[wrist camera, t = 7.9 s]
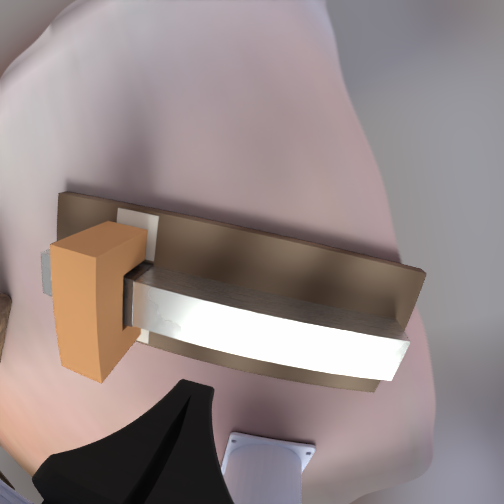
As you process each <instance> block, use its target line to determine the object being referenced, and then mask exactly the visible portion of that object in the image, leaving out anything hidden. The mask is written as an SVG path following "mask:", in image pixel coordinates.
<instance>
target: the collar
mask: <svg viewBox="0 0 504 504" xmlns="http://www.w3.org/2000/svg"><path fill="white" fill-rule="evenodd" d="M147 233H148V230H147V229H142V228H138V227H133V226H129V225H124V224H120V223H115V222H111V221H107V222H104V223H101V224H99V225H96V226H94V227H91V228H88V229H86V230H83V231H81V232H78V233H76V234H73V235H71V236H69V237H66V238H64V239H61V240H59V241H57V242H54V243H52V244H50V259H51V281H52V296H53V307H54V316H55V325H56V333H57V340H58V346H59V353H60V359H61V364H62V366H63V367H66V368H68V369H70V370H72V371H74V372H76V373H78V374H81V375H83V376H85V377H87V378H90V379H92V380H94V381H97V382H99V383H103V381H104V380H105V379H106V377H107V376H108V375H109V374H110V372H111V371H112V370H113V369H114V367H115V366H116V365H117V363H118V362H119V361H120V360H121V358H122V357H123V356H124V355H125V353H126V352H127V351H128V350H129V348H130V347H131V346H132V345H133V343H134V342H135V341H136V340H137V338H138V337H139V336H140V335H141V328H138V327H135V326H133V327H130V326H127V325H124V324H122V307H123V275H125V274H126V273H128V272H129V271H130V270H132V269H133V268H134V267H136V266H137V265H138V264H140V263H141V262H142V261H144V260H145V253H146V243H147Z"/></svg>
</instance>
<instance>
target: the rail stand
mask: <svg viewBox="0 0 504 504" xmlns="http://www.w3.org/2000/svg"><path fill="white" fill-rule="evenodd" d="M107 221H111V222H115V223H120V224H124V225H129V226H133V227H138V228H142V229H147V230H148V233H147V243H146V253H145V260H144V261H142V262H141V263H140V264H138V265H137V266H136V267H134V268H133V269H132V270H130V271H129V272H128V273H126V274H125V275H123V307H122V324H124V325H127V326H130V327H133V326H135V327H138V328H141V335H140V336H139V337H138V338H137V340H136V342H139V343H142V344H146V345H149V346H152V347H155V348H158V349H162V350H165V351H168V352H172V353H175V354H179V355H182V356H186V357H189V358H193V359H196V360H200V361H204V362H208V363H212V364H216V365H220V366H224V367H228V368H232V369H236V370H241V371H245V372H250V373H254V374H259V375H264V376H269V377H274V378H279V379H284V380H290V381H295V382H301V383H307V384H313V385H319V386H326V387H333V388H340V389H348V390H356V391H365V392H375V390H376V388H377V386H378V384H379V382H380V381H381V380H390V381H391V380H392V378H393V376H394V374H395V372H396V370H397V368H398V366H399V364H400V362H401V360H402V358H403V356H404V354H405V352H406V350H407V348H408V346H409V344H410V340H409V339H408V337H407V335H406V334H405V332H404V330H405V328H406V326H407V323H408V321H409V318H410V316H411V314H412V311H413V309H414V306H415V304H416V301H417V298H418V296H419V293H420V290H421V288H422V285H423V282H424V280H425V277H426V273H425V272H424V271H423V270H422V269H420V268H416V267H412V266H408V265H404V264H400V263H396V262H392V261H388V260H384V259H380V258H375V257H371V256H367V255H363V254H359V253H355V252H350V251H346V250H342V249H338V248H334V247H329V246H325V245H321V244H316V243H312V242H308V241H303V240H299V239H295V238H290V237H286V236H281V235H277V234H272V233H268V232H263V231H259V230H254V229H250V228H245V227H241V226H236V225H231V224H227V223H222V222H217V221H213V220H208V219H203V218H199V217H194V216H189V215H184V214H179V213H175V212H170V211H165V210H160V209H155V208H150V207H145V206H140V205H135V204H130V203H125V202H120V201H114V200H109V199H104V198H99V197H94V196H88V195H83V194H78V193H72V192H62V193H59V196H58V215H57V241H59V240H61V239H64V238H66V237H69V236H71V235H73V234H76V233H78V232H81V231H83V230H86V229H88V228H91V227H94V226H96V225H99V224H101V223H104V222H107ZM41 266H42V282H43V293H45V294H48V295H50V296H52V281H51V259H50V249H48V250H46V251H44V252H42V253H41ZM52 297H53V296H52Z"/></svg>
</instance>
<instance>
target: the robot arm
mask: <svg viewBox="0 0 504 504" xmlns="http://www.w3.org/2000/svg"><path fill="white" fill-rule="evenodd" d="M213 396H214V388H213V387H211V386H207V385H203V384H199V383H195V382H192V381H188V380H185V379H182V380H180V381H179V382H178V383H177V384H176V385H175V386H174V388H173V389H172V390H171V391H170V392H169V393H168V394H167V395H166V396H165V397H163V398H162V399H161V400H160V401H159V402H158V403H157V404H156V405H154V406H153V407H152V408H151V409H150V410H148V411H147V412H146V413H144V414H143V415H142V416H140V417H139V418H138V419H136V420H135V421H133V422H132V423H130V424H129V425H127V426H125V427H124V428H122V429H120V430H119V431H117V432H115V433H113V434H111V435H109V436H107V437H105V438H103V439H101V440H98V441H96V442H93V443H91V444H88V445H85V446H82V447H80V448H77V449H73V450H69V451H65V452H61V453H57V454H52V455H50V456H49V457H48V458H47V459H46V460H45V461H44V462H43V463H42V465H41V466H40V467H39V469H38V470H37V472H36V473H35V474H34V476H33V477H32V482H33V484H34V486H35V487H36V489H37V490H38V492H39V493H40V494H41V496H42V497H43V499H44V501H43V502H42V504H301V476H302V472H303V470H304V468H305V467H306V465H307V464H308V462H309V460H310V459H311V457H312V455H313V454H314V452H315V450H316V447H315V446H314V445H310V444H302V443H294V442H287V441H281V440H274V439H268V438H263V437H257V436H252V435H247V434H242V433H237V432H232V433H231V434H230V436H229V440H228V444H227V447H226V451H225V455H224V458H223V462H222V466H221V468H220V465H219V461H218V457H217V453H216V448H215V443H214V436H213V428H212V401H213ZM0 504H33V503H32V502H30V501H29V500H27V499H26V498H24V497H23V496H21V495H20V494H19V493H17V492H15V491H14V490H13V489H12V488H10V487H9V486H8V485H6V484H5V483H4V482H2V481H1V480H0Z"/></svg>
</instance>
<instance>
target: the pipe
mask: <svg viewBox="0 0 504 504" xmlns="http://www.w3.org/2000/svg"><path fill="white" fill-rule="evenodd" d="M11 303H12V302H11V299H10V297H9V296H8V295H6V294H0V362H1V355H2V348H3V344H4V340H5V330H6V326H7V323H8V318H9V313H10V308H11Z"/></svg>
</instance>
